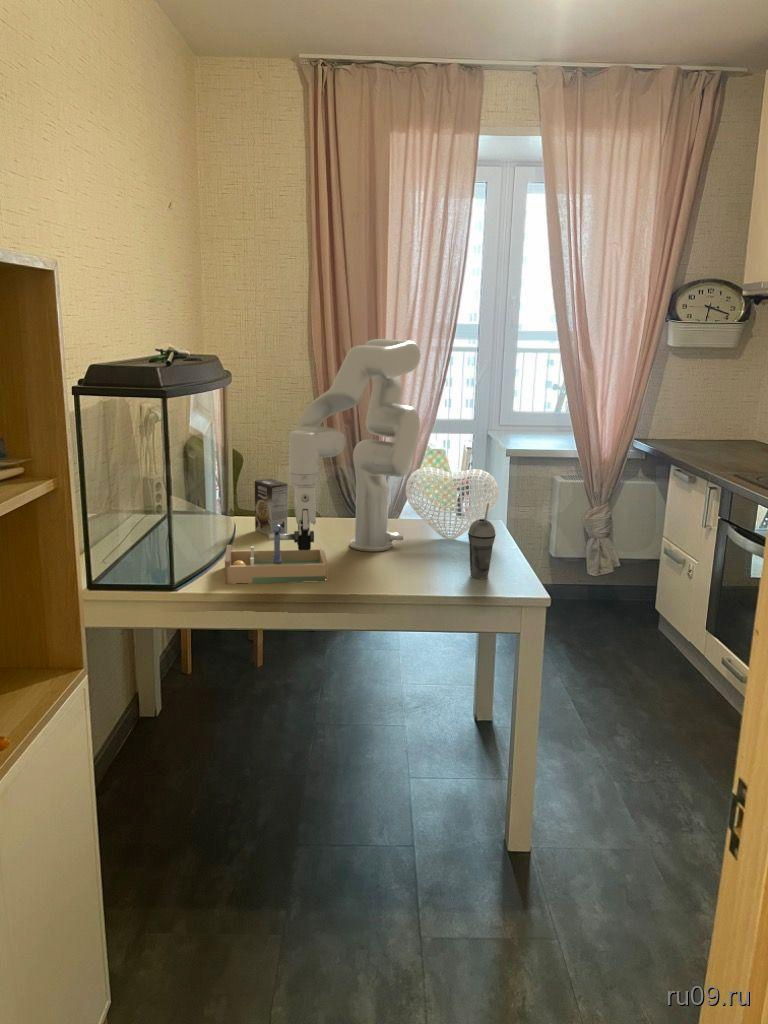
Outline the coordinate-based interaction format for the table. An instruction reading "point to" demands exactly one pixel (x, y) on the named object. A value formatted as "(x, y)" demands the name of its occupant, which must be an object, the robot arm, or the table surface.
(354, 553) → the table surface
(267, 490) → the coffee box
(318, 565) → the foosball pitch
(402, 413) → the robot arm
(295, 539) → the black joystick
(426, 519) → the heart
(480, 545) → the beverage cup
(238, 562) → the foosball ball
